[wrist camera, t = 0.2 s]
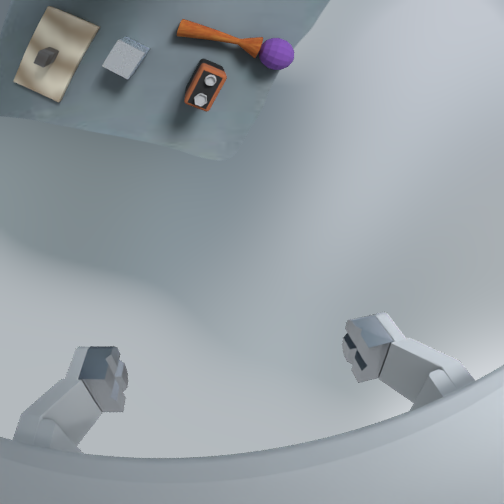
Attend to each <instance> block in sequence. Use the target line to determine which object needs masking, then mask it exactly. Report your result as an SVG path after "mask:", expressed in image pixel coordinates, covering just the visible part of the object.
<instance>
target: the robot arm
mask: <svg viewBox="0 0 504 504" xmlns="http://www.w3.org/2000/svg"><path fill="white" fill-rule="evenodd" d="M345 329H346V330H347V332H348V333H347V334H346V335H345V336H344V338H343V344H342V346H343V353H344V356H345V358H346V360H347V362H349V363H351V364H353V366H352V372H353V374H354V376H355V378H356V380H357V381H358V383H360V382H364V381H368V380H372V379H376V378H379V380H381V381H382V382H384V383H385V384H387V385H388V386H390V387H391V388H393V389H394V390H395V391H397V392H398V393H400V394H401V395H403V396H404V397H406V398H407V399H409V400H410V401H412V402H413V403H414V404H413V406H412V408H411V409H410V411H409V412H406V413H404V414H401V415H398V416H395V417H392V418H390V419H387V420H384V421H381V422H378V423H375V424H372V425H369V426H366V427H363V428H360V429H356V430H353V431H349V432H346V433H342V434H338V435H335V436H331V437H327V438H323V439H318V440H314V441H310V442H305V443H301V444H296V445H291V446H285V447H280V448H274V449H268V450H262V451H255V452H247V453H240V454H231V455H220V456H208V457H193V458H192V457H191V458H129V457H113V456H101V455H91V454H84V453H83V452H81V450H80V449H79V448H78V447H77V445H78V444H79V442H80V441H81V440H82V439H83V437H84V436H85V435H86V433H87V432H88V431H89V430H90V428H91V427H92V426H93V424H94V423H95V422H96V421H97V419H98V418H99V417H100V415H101V414H102V412H123V411H124V404H125V396H124V394H123V391H124V390H126V388H127V385H128V373H127V369H126V366H125V364H124V363H123V362H122V361H120V360H119V358H120V353H119V351H118V348H117V347H114V346H113V347H112V346H110V347H93V346H91V347H78V348H77V349H76V350H75V353H74V355H73V358H72V361H71V363H70V366H69V369H68V372H67V374H66V377H65V379H61V380H60V381H59V382H57V383H56V384H55V385H54V386H53V387H52V388H50V389H49V390H48V391H47V392H46V393H45V394H43V395H42V396H41V397H40V398H39V399H38V400H37V401H35V402H34V403H33V404H32V405H31V406H30V407H29V408H27V409H26V410H25V411H24V412H23V413H22V414H21V416H20V419H19V422H18V426H17V428H16V431H15V434H14V437H13V440H10V439H6V438H3V437H0V504H504V365H503V366H501V367H499V368H498V369H496V370H494V371H493V372H491V373H489V374H487V375H485V376H484V377H482V378H480V379H478V380H476V381H475V380H474V379H473V377H472V376H471V375H470V373H469V372H468V371H467V369H466V368H465V367H464V366H463V364H462V363H461V362H460V361H459V360H458V359H456V358H454V357H451V356H449V355H447V354H445V353H442V352H440V351H438V350H436V349H434V348H431V347H429V346H427V345H425V344H423V343H420V342H418V341H416V340H414V339H412V338H406V337H405V336H404V335H403V333H402V332H401V331H400V329H399V328H398V327H397V325H396V324H395V323H394V322H393V320H392V319H391V318H390V316H389V315H388V314H387V313H385V312H381V313H377V314H373V315H369V316H364V317H359V318H354V319H350V320H348V321H347V323H346V327H345Z"/></svg>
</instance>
